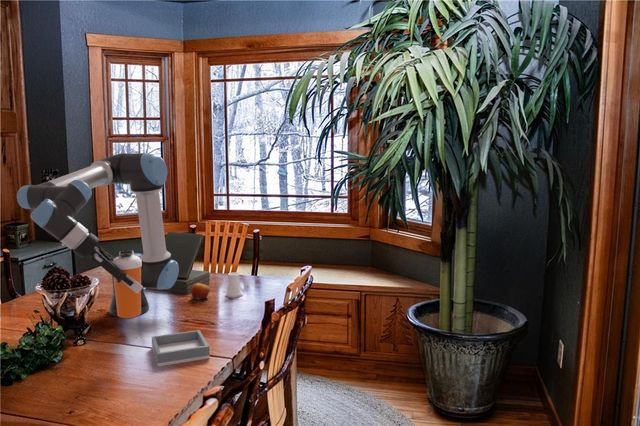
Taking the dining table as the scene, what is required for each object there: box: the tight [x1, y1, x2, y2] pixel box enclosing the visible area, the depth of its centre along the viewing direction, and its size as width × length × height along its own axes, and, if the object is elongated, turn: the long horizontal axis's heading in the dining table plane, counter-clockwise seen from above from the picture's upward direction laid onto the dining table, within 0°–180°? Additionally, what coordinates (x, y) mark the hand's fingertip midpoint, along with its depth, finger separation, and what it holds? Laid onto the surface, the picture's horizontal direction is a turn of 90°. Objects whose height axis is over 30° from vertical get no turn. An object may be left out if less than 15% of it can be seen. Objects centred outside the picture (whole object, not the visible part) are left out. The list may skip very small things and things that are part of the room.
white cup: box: [225, 271, 243, 298], centre depth 240 cm, size 8×8×10 cm
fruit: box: [190, 283, 211, 302], centre depth 235 cm, size 8×8×8 cm
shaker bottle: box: [112, 250, 142, 319], centre depth 168 cm, size 9×9×20 cm
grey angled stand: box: [144, 231, 211, 295], centre depth 253 cm, size 23×20×25 cm
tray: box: [151, 329, 211, 367], centre depth 175 cm, size 16×16×4 cm
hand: (138, 286), depth 170 cm, fingers closed on shaker bottle, 9 cm apart
